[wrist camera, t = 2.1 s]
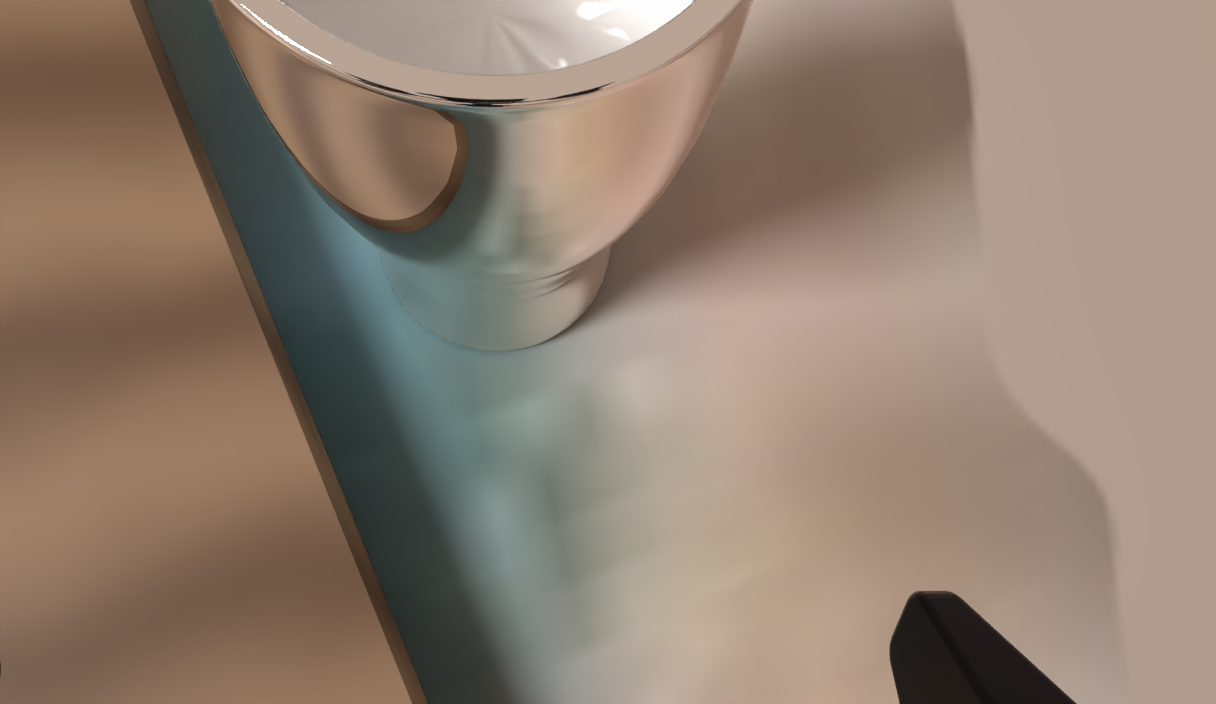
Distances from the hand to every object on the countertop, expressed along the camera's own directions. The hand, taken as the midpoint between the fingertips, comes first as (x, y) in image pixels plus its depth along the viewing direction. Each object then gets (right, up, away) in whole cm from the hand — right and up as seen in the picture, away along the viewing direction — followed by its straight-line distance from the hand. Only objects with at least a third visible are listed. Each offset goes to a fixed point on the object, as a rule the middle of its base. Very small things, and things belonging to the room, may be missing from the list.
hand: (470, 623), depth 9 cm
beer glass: (-2, +6, +15) cm, 16 cm away
